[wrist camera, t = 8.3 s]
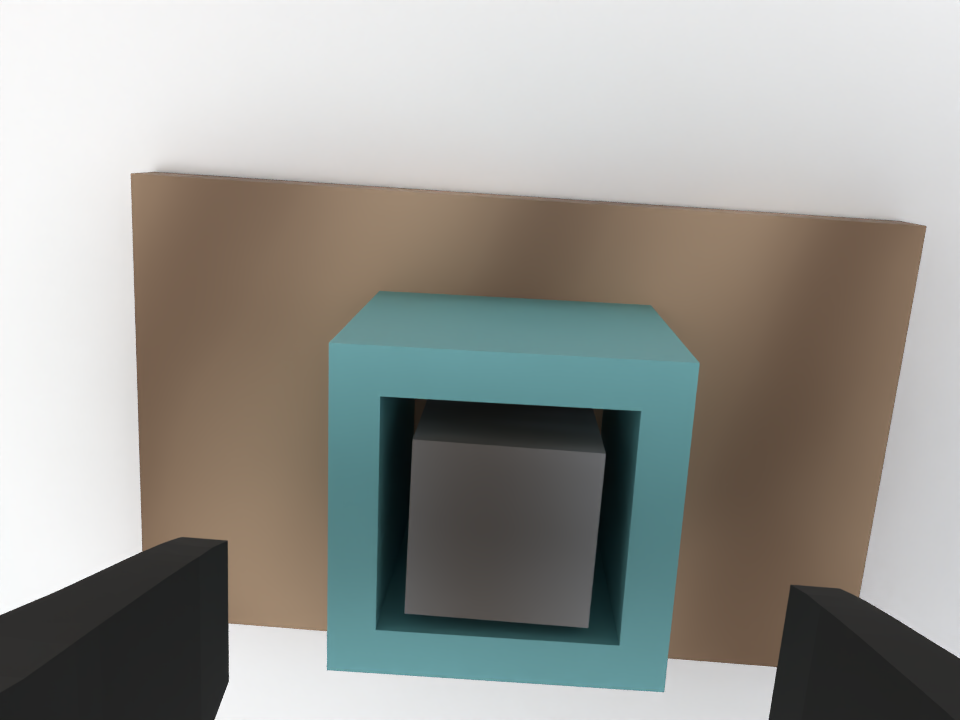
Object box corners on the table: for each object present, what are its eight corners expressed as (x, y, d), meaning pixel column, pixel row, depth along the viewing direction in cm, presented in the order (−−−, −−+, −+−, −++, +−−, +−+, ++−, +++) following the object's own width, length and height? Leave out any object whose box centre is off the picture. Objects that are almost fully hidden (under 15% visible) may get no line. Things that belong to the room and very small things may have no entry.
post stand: (901, 221, 19) (1084, 255, 13) (826, 643, 21) (951, 843, 15) (154, 172, 19) (-15, 182, 13) (165, 590, 21) (26, 764, 15)
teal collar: (651, 304, 18) (699, 363, 13) (627, 555, 19) (663, 692, 14) (379, 290, 18) (329, 343, 13) (374, 540, 20) (327, 669, 15)
